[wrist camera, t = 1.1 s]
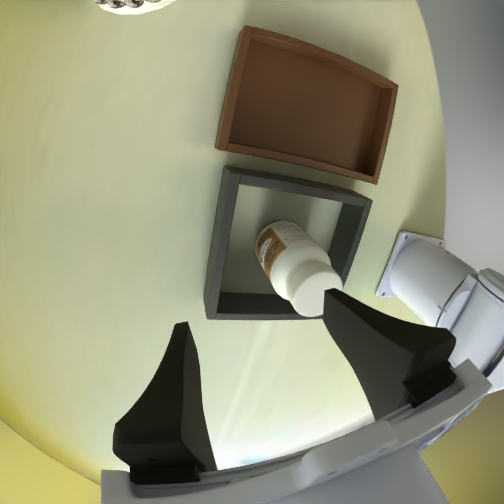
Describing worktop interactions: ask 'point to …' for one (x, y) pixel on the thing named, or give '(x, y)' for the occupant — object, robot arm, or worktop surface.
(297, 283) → the pill bottle
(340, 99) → the tray
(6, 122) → the worktop surface
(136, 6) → the decorative candle
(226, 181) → the dark grey square frame
